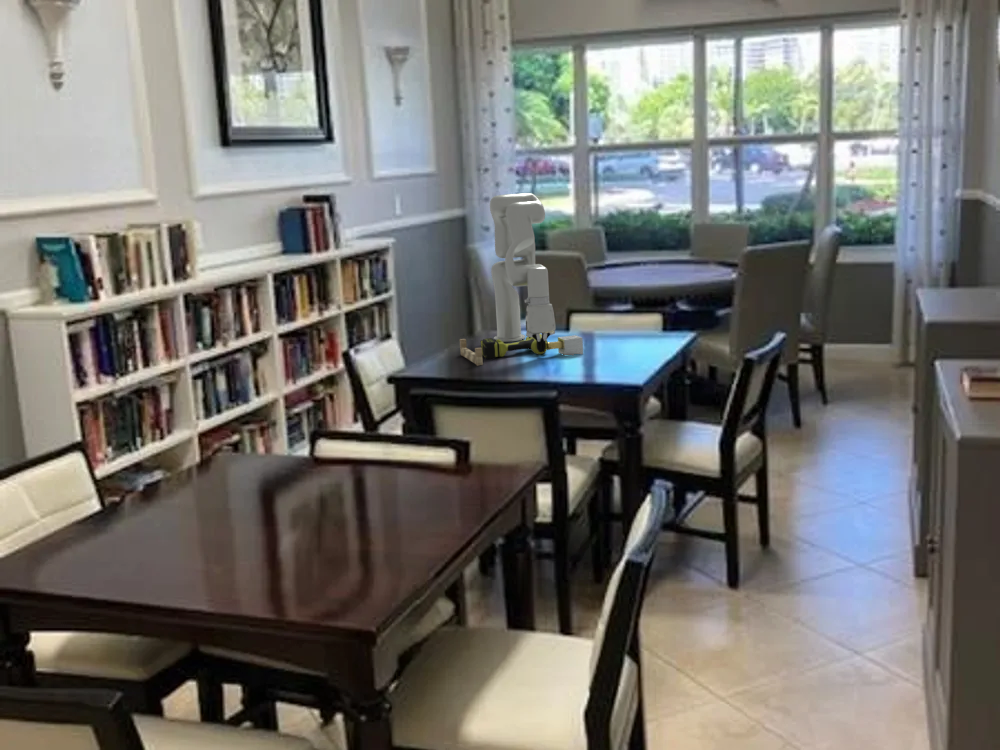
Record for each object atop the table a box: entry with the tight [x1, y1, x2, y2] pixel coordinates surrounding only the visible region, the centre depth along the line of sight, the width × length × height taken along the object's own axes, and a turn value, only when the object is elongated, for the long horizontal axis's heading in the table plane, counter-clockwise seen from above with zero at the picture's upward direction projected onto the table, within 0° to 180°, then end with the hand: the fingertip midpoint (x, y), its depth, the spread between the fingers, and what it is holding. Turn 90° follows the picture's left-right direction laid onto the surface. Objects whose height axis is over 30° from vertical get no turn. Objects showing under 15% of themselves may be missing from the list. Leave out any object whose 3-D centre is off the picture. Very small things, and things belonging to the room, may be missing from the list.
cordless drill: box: [480, 333, 548, 360], centre depth 394 cm, size 7×25×25 cm
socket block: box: [557, 334, 584, 356], centre depth 382 cm, size 7×7×6 cm
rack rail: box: [459, 338, 484, 367], centre depth 382 cm, size 24×2×6 cm, turn 16°
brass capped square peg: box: [546, 340, 563, 351], centre depth 381 cm, size 3×10×3 cm, turn 106°
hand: (541, 351), depth 380 cm, fingers closed
